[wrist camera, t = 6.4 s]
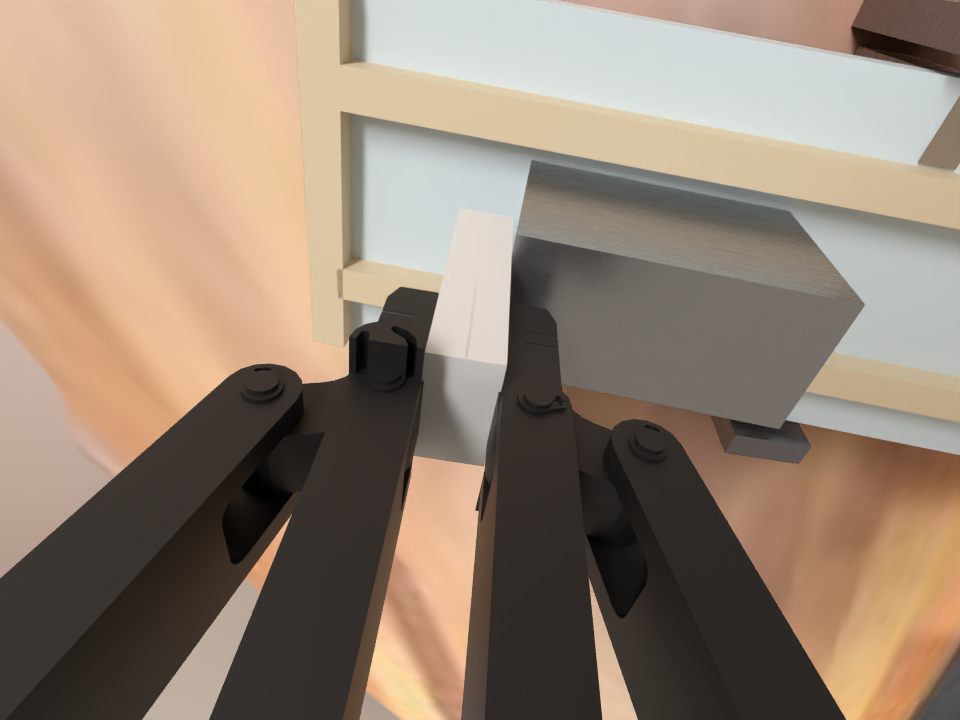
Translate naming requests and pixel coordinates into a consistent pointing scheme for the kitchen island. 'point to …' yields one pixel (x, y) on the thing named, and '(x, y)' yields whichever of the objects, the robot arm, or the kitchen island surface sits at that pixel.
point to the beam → (639, 165)
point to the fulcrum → (889, 11)
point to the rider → (678, 293)
